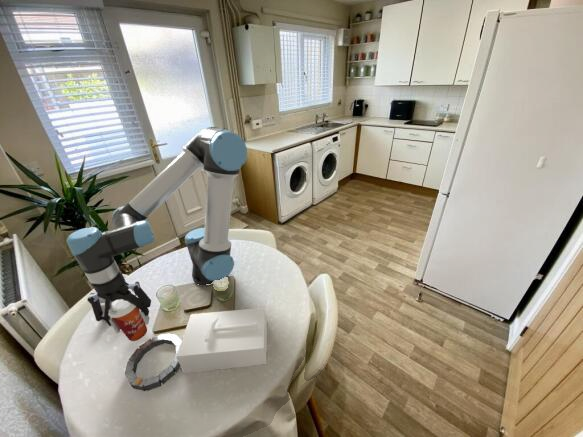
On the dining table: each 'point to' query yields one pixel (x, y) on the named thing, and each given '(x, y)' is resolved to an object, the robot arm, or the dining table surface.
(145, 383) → the grey stone ring
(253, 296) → the dining table surface
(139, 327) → the coffee cup
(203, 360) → the white hammer box
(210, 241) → the robot arm
